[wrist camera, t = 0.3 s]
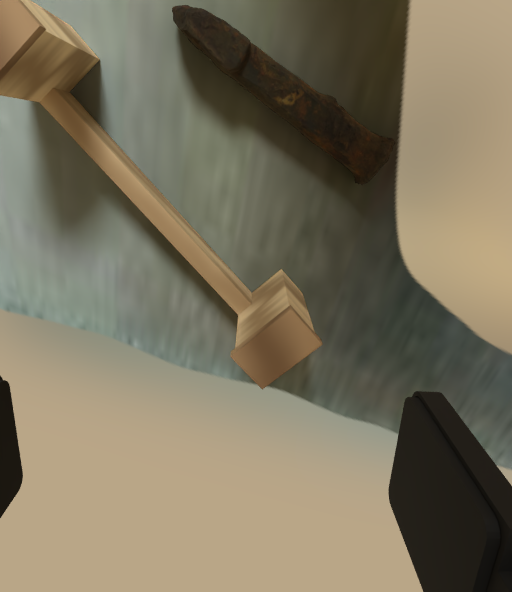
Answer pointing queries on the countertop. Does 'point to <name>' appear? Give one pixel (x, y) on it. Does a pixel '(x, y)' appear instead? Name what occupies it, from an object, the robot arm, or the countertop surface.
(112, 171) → the wooden u-shaped stand
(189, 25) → the hand tool
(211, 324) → the countertop surface
